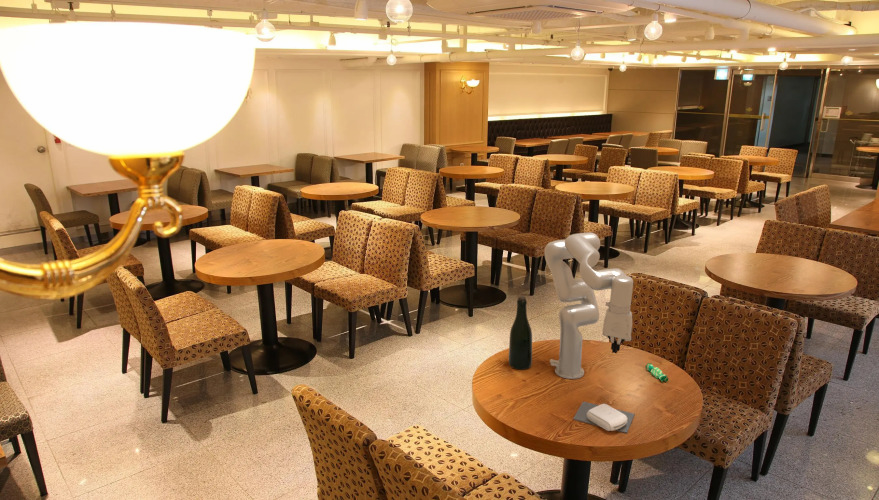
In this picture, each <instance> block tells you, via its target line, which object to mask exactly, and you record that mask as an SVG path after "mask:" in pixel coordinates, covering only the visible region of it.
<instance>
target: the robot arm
mask: <svg viewBox="0 0 879 500" xmlns="http://www.w3.org/2000/svg"><path fill="white" fill-rule="evenodd" d="M600 247H601V240H600V238H599V236H598V235H597V234H596V233H594V232H592V231H591V232H581V233H579V232H578V233H573V234H570V235H568V236H567V238H565V239H558V240H553V241H550V242H548V243H547V244H546V245H545V248H544V259H545V262H546V265H547V266H548V269H549V271H550V272H551V275H552V276H551V277H552V280H553V284H554V288H555V292H556V297H557V298H558V300H559V302H560V303H565V304H566V303H572V302H574V303H575V302H580V303H575V304H570V305H569V304H568V305H564V306H563V307H561V308H560V310H559V311H558V320H559V329H560V330H559V336H560V337H559V352H558V353H559V355H558V356H559V357H558V359H557V360H556V359H551V358H550V360H549V364H550V366H551V367H555V368H554V372H555V374H556V375H557V376H558V377H561V378H563V379H568V380H577V379H581V378H582V377H583V376H584V375H585V369H584V368H583V367H582V358H583V357H582V354H583V353H582V352H583V334H582V332H581V330H580V329H579V328H580V327H584V326H588V325H589V326H591V325H593V324H596V323H598V322H599V319H600V310H599V306H598V302H597V299H596V294H595V291H597V292H598V291H603V290H610V298H609V299H610V300H609V302H605V306H607V307H608V308H607V309H606V312H605V315H604V319H603V325H602V326H603V327H602V334H601V335H603V336H604V337H606V338H607V339H608V340H609V341H610V343H611V346H610V349H611V350H612V351H611V353H613V354H617V353H618V352H620V351H621V344H622V343H624V342H631V341H632V332H633V314H632V311H631V304H632V297H633V289H634V279H633V278H632V277H631V276H629V275H626V274H625V272H624V271H623V270H621V268H617V267H616V268H614V267H613V268H606V269H599V270H594V269H593V268H594V267H595V266H597V264H598V262H599V260H600V258H601V257H600V256H601V255H600V254H601V253H600V252H599V249H600ZM567 259H575V260H576V261H577V262H578V263H579V275H580V277H581V278H576V279H575V278H574V276H573V272H572V268H571V267H570V266H569V265H568V264H567V263H566V262H565V261H563V260H567ZM616 338H617V340H616Z"/></svg>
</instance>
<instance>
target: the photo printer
mask: <svg viewBox="0 0 879 500" xmlns="http://www.w3.org/2000/svg"><path fill="white" fill-rule="evenodd" d="M598 405H599V406H596V407H594V408H592V409H590V410H589V411H588V412H587V418H588V419H589V420H590V421H592V422H594V423H595V424H597V425H599V426H598V427H600V428H601V429H604V430H605V431H607V432H610V431H611V432H613V431H615V430H617V429H619V428H621V427H623V426H624V425H625V424H626V423H627V420H628V419H627V417H626V415H625V414H623V413H621V412H620V411H618V410H619V409H617V408H613V406H610V405H609V404H607V403H602V404H598ZM616 409H617V410H616Z"/></svg>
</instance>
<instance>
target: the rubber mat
mask: <svg viewBox="0 0 879 500" xmlns="http://www.w3.org/2000/svg"><path fill="white" fill-rule="evenodd" d="M599 405H600V404H596V403H591V402H587V401H582V402H581V404H580V406H579V408H578V410H577V411H576V413H575V415H574V417H573V418H572V419H573V421H577V422H581V423H585V424H588V425H593V426H597V427H600V426H599V425H597V424H595V423H594V422H592V421H590V420H589V419H588V418H587V412H588V411H589V410H590V409H592V408H594V407H596V406H599ZM615 409H616V410H618V411H620V412H621V413H623V414H625V415H626V417H627V419H628V420H627V423H626V424H625V425H624V426H623V427H621V428H619V429H617V430H614V432H615V431H616V432H619V433H623V434H628V432H629V429H630V427H631V425H632V422H633V421H634V418H635V413H633V412H629V411H625V410H620V409H617V408H615Z"/></svg>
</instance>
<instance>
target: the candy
mask: <svg viewBox="0 0 879 500" xmlns="http://www.w3.org/2000/svg"><path fill="white" fill-rule="evenodd" d="M645 370H646V371H648V372H650V374H651V375H652V376H653V377H654V378H655V379H659V380H660V381H661V383H663V382H666V383H667V382H668V381H669V377H668V375H666V374H664V373H663V371H662V370H661V369H660V368H659V367H656V366H654V365H653V363H647V364H646V365H645Z"/></svg>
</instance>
